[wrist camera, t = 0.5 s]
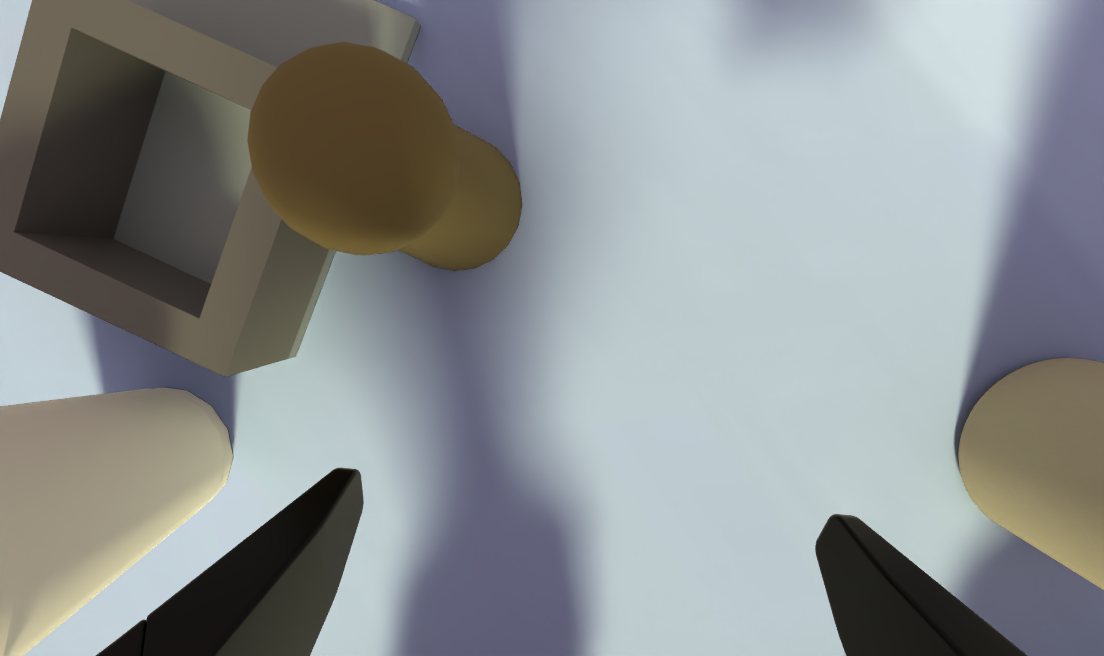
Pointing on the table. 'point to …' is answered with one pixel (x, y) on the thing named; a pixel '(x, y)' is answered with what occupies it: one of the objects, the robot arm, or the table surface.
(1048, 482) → the travel mug
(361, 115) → the cork
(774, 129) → the table surface
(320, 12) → the socket
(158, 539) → the foam cup
